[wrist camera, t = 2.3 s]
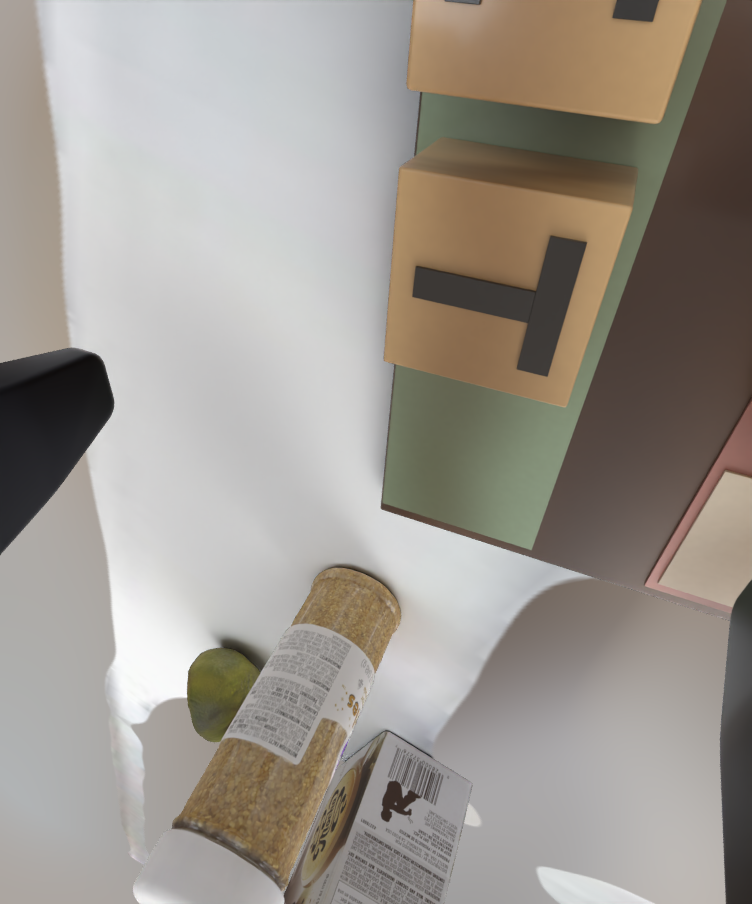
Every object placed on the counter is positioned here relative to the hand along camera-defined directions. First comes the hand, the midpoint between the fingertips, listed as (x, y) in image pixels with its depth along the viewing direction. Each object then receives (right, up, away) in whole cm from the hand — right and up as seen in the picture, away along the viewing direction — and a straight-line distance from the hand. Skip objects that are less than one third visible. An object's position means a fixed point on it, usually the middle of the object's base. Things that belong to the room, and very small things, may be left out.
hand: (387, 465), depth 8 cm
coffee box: (+1, -20, +30) cm, 36 cm away
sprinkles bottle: (-1, -6, +20) cm, 21 cm away
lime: (-8, -12, +28) cm, 32 cm away
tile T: (+3, +5, +7) cm, 9 cm away
